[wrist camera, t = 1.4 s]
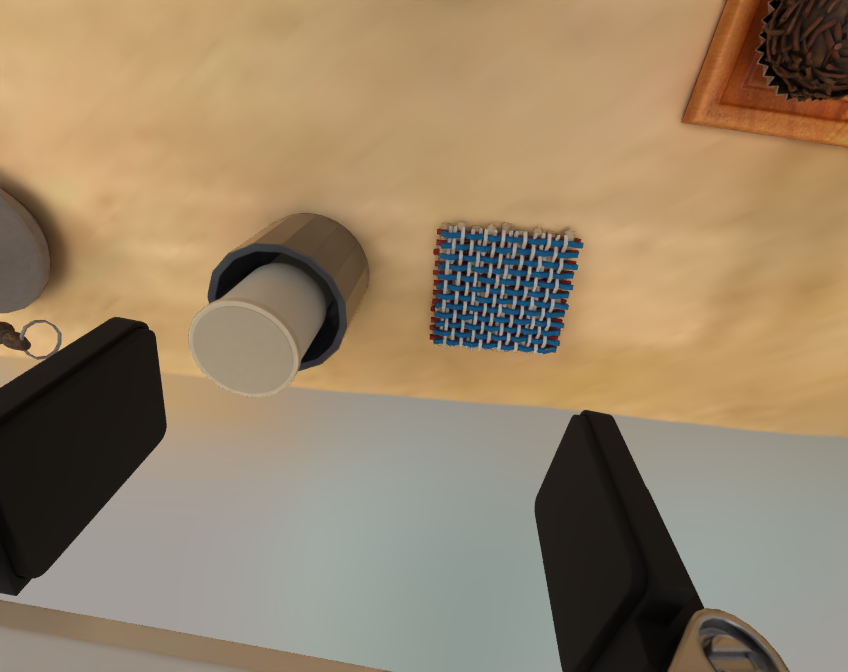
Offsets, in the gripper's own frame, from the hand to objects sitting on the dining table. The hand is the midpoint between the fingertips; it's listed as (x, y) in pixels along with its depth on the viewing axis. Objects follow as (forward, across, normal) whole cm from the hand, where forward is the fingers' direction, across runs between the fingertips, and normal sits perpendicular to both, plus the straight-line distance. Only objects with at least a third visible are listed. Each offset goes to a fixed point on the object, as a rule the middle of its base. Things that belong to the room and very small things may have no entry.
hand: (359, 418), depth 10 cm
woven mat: (+26, -7, +6) cm, 27 cm away
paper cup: (+25, +8, +7) cm, 27 cm away
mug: (+25, +9, +9) cm, 28 cm away
